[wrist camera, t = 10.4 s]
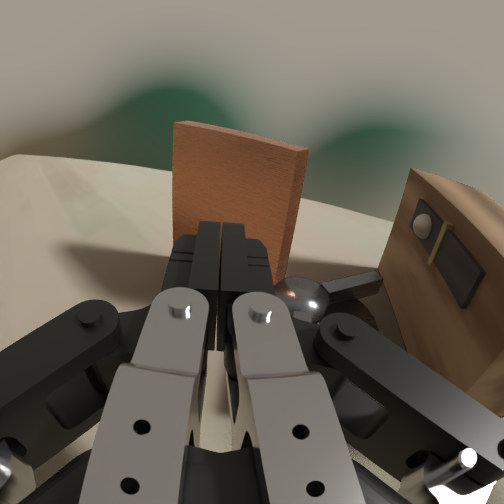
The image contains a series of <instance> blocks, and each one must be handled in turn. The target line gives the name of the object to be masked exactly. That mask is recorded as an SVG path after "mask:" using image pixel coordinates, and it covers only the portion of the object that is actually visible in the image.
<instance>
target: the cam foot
mask: <svg viewBox="0 0 504 504" xmlns="http://www.w3.org/2000/svg"><path fill="white" fill-rule="evenodd" d="M308 154H309V149H308V148H305V147H301V146H297V145H294V144H290V143H287V142H283V141H279V140H275V139H272V138H268V137H263V136H259V135H255V134H251V133H247V132H242V131H238V130H233V129H228V128H224V127H219V126H214V125H209V124H204V123H198V122H193V121H182V122H175V123H174V136H173V179H172V208H173V245H174V242H175V241H176V240H177V239H178V238H179V237H180V236H181V235H182V234H192V235H197V232H198V226H199V221H215V222H221V230H220V249H221V236H222V224H223V222H228V223H242V224H244V227H245V237H246V238H250V239H259V240H260V241H261V242H262V243H263V245H264V246H265V247H266V248H267V253H268V260H269V263H270V268H271V273H272V279H273V284H274V289H275V294H276V297H278V298H279V299H280V300H282V301H283V302H284V303H285V305H286V306H287V308H288V310H289V313H290V315H291V316H292V317H295V318H297V319H300V320H303V321H307V322H311V323H314V324H318V325H320V323H321V321H322V320H323V318H325V317H326V316H327V315H329V314H332V313H347V314H350V315H353V316H356V317H358V318H359V319H361V320H362V321H364V322H365V323H367V324H368V325H369V326H371V327H372V328H374V329H375V330H377V331H378V328H377V324H376V322H375V319H374V317H373V316H372V314H371V313H370V311H369V310H368V309H367V308H366V307H365V306H364V305H363V304H362V303H361V302H360V301H359V300H358V299H360V298H363V297H367V296H370V295H373V294H376V293H378V292H379V289H380V287H381V285H382V282H383V280H384V278H383V277H382V276H381V275H380V274H379V273H378V272H377V271H371V272H367V273H363V274H358V275H354V276H350V277H345V278H341V279H337V280H332V281H328V282H323V283H321V284H320V283H317V282H315V281H313V280H310V279H307V278H302V277H289V278H285V273H286V268H287V263H288V259H289V254H290V249H291V244H292V239H293V234H294V229H295V224H296V219H297V214H298V209H299V204H300V198H301V193H302V187H303V182H304V176H305V171H306V166H307V160H308ZM219 262H220V251H219ZM284 278H285V279H284ZM218 280H219V276H218ZM349 381H350V380H349Z"/></svg>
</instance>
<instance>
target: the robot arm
mask: <svg viewBox="0 0 504 504" xmlns="http://www.w3.org/2000/svg"><path fill="white" fill-rule="evenodd" d="M220 230H221V222H215V221H199V226H198V232H197V235H192V234H182V235H181V236H180V237H179V238H178V239H177V240H176V241H175V242H174V245H173V248H172V253H171V256H170V260H169V263H168V267H167V270H166V274H165V278H164V282H163V286H162V290H161V293H159V294H158V295H157V296H156V297H155V298H154V300H153V302H152V304H150V305H149V306H147V307H145V308H142V309H139V310H135V311H129V312H122V313H118V311H117V310H116V308H115V307H114V306H113V305H112V304H111V303H109V302H107V301H103V300H88V301H84V302H81V303H79V304H77V305H75V306H74V307H72V308H70V309H69V310H67V311H65V312H64V313H62V314H60V315H59V316H57V317H55V318H54V319H52V320H50V321H49V322H47V323H45V324H44V325H42V326H41V327H39V328H37V329H36V330H34V331H32V332H31V333H29V334H28V335H26V336H24V337H23V338H21V339H20V340H18V341H16V342H15V343H13V344H12V345H10V346H8V347H7V348H5V349H4V350H2V351H1V352H0V504H485V502H486V500H487V498H488V495H489V493H490V491H491V488H492V486H493V484H494V483H495V482H496V481H498V480H499V479H501V478H503V477H504V420H503V419H501V418H500V417H498V416H497V415H496V414H494V413H493V412H491V411H490V410H489V409H487V408H486V407H484V406H483V405H482V404H480V403H479V402H477V401H476V400H475V399H473V398H472V397H470V396H469V395H467V394H466V393H465V392H463V391H462V390H460V389H459V388H458V387H456V386H455V385H453V384H452V383H451V382H449V381H448V380H446V379H445V378H443V377H442V376H441V375H439V374H438V373H436V372H435V371H434V370H432V369H431V368H429V367H428V366H426V365H425V364H424V363H422V362H421V361H419V360H418V359H417V358H415V357H414V356H412V355H411V354H409V353H408V352H407V351H405V350H404V349H402V348H401V347H399V346H398V345H397V344H395V343H394V342H392V341H391V340H389V339H388V338H387V337H385V336H384V335H382V334H381V333H379V332H378V331H377V330H375V329H374V328H372V327H371V326H369V325H368V324H367V323H365V322H364V321H362V320H361V319H359V318H358V317H356V316H353V315H350V314H347V313H332V314H329V315H327V316H326V317H325V318H323V320H322V321H321V323H320V325H318V324H314V323H311V322H307V321H303V320H300V319H297V318H295V317H292V316H291V315H290V313H289V310H288V308H287V306H286V305H285V303H284V302H283V301H282V300H280V299H279V298H278V297H276V294H275V289H274V284H273V279H272V273H271V268H270V263H269V260H268V253H267V248H266V247H265V246H264V245H263V243H262V242H261V241H260V240H259V239H250V238H246V237H245V227H244V224H242V223H228V222H223V224H222V236H221V249H220ZM219 251H220V262H219ZM218 276H219V280H218ZM217 298H218V312H217ZM216 313H217V351H224V366H225V369H226V372H225V375H226V384H227V393H228V402H229V410H230V419H231V427H232V451H230V452H224V453H217V452H213V451H209V450H205V449H202V448H199V443H200V427H201V418H202V409H203V401H204V393H205V385H206V377H207V354H208V350H214V348H215V330H216ZM349 380H350V381H352V382H353V383H354V384H356V385H357V386H358V387H360V388H361V389H362V390H363V391H365V392H366V393H367V394H369V395H370V396H371V397H373V398H374V399H375V400H377V401H378V402H379V403H381V404H382V405H383V406H384V407H382V406H381V405H379V404H378V403H376V402H375V401H374V400H373V399H371V398H370V397H369V396H367V395H366V394H365V393H363V392H362V391H361V390H359V389H358V388H357V387H355V386H354V385H353V384H352V383H350V382H349ZM99 421H100V423H99V426H98V430H97V433H96V437H95V440H94V444H93V447H92V449H90V450H88V451H86V452H84V453H82V454H80V455H79V456H77V457H76V458H74V459H73V460H72V461H70V462H69V463H68V464H67V465H66V466H64V467H63V468H62V469H61V470H59V471H58V472H57V473H56V474H54V475H53V476H52V477H51V478H49V479H48V480H47V481H46V482H44V483H43V484H42V485H41V486H39V487H38V488H37V489H36V490H35V488H36V483H35V480H34V473H33V471H34V470H35V469H36V468H38V467H39V466H41V465H42V464H43V463H45V462H46V461H47V460H49V459H50V458H52V457H53V456H54V455H56V454H57V453H58V452H60V451H61V450H62V449H64V448H65V447H66V446H68V445H69V444H70V443H72V442H73V441H74V440H76V439H77V438H78V437H80V436H81V435H82V434H84V433H85V432H86V431H88V430H89V429H90V428H92V427H93V426H94V425H96V424H97V423H98V422H99ZM346 442H347V443H349V444H350V445H351V446H353V447H354V448H355V449H356V450H358V451H359V452H360V453H362V454H363V455H364V456H366V457H367V458H368V459H369V460H371V461H372V462H374V463H375V464H376V465H378V466H379V467H380V468H382V469H383V470H384V471H386V472H387V473H389V474H390V475H391V476H393V477H394V478H396V479H397V480H398V481H400V482H401V485H400V489H399V491H398V493H397V492H396V491H395V490H393V489H392V488H391V487H389V486H388V485H387V484H385V483H384V482H383V481H382V480H380V479H379V478H378V477H376V476H375V475H374V474H373V473H371V472H370V471H369V470H368V469H366V468H365V467H364V466H362V465H361V464H360V463H358V462H356V461H355V460H353V459H351V456H350V453H349V450H348V447H347V444H346ZM31 492H32V493H31Z"/></svg>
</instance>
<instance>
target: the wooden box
mask: <svg viewBox="0 0 504 504" xmlns="http://www.w3.org/2000/svg"><path fill="white" fill-rule="evenodd" d="M378 270H379V272H380V275H381V276H382V277H383V278H384V280H383V283H384V285H385V288H386V291H387V293H388V296H389V299H390V302H391V305H392V307H393V310H394V313H395V316H396V319H397V322H398V325H399V328H400V331H401V334H402V337H403V340H404V344H405V347H406V350H407V352H408V353H409V354H411V355H412V356H414V357H415V358H417V359H418V360H419V361H421V362H422V363H424V364H425V365H426V366H428V367H429V368H431V369H432V370H434V371H435V372H436V373H438V374H439V375H441V376H442V377H443V378H445V379H446V380H448V381H449V382H451V383H452V384H453V385H455V386H456V387H458V388H459V389H460V390H462V391H463V392H465V393H466V394H467V395H469V396H470V397H472V398H473V399H475V400H476V401H477V402H479V403H480V404H482V405H483V406H484V407H486V408H487V409H489V410H490V411H491V412H493V413H494V414H496V415H497V416H498V417H500V416H504V208H503V207H502V206H501V205H499V204H498V203H497V202H495V200H493V199H492V198H491V197H489V196H488V195H487V194H486V193H484V192H483V191H481V190H479V189H476V188H473V187H470V186H468V185H465V184H462V183H459V182H455V181H453V180H450V179H447V178H444V177H440V176H437V175H434V174H431V173H428V172H424V171H421V170H417V169H414V168H411V169H410V172H409V176H408V179H407V183H406V186H405V190H404V193H403V196H402V200H401V203H400V206H399V209H398V212H397V215H396V218H395V221H394V224H393V227H392V230H391V233H390V236H389V239H388V242H387V245H386V247H385V250H384V253H383V255H382V258H381V261H380V263H379V266H378Z"/></svg>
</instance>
